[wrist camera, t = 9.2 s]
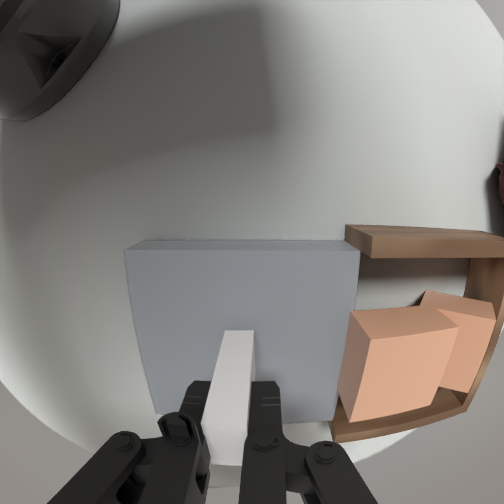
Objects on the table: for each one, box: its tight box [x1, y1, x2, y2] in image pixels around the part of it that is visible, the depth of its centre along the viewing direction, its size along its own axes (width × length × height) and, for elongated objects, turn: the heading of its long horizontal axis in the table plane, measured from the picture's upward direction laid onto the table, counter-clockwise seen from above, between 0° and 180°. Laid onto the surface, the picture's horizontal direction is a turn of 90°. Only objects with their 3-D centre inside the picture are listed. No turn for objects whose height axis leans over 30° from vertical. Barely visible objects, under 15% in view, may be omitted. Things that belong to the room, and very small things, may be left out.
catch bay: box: [328, 224, 504, 443], centre depth 15 cm, size 14×12×4 cm
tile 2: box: [420, 290, 496, 393], centre depth 14 cm, size 6×6×3 cm
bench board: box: [124, 240, 361, 423], centre depth 16 cm, size 12×12×3 cm
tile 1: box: [337, 305, 459, 423], centre depth 13 cm, size 6×6×3 cm
